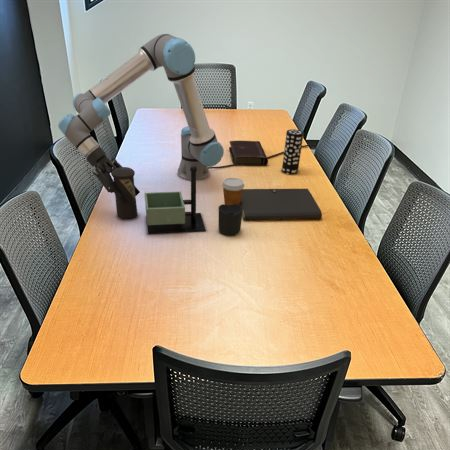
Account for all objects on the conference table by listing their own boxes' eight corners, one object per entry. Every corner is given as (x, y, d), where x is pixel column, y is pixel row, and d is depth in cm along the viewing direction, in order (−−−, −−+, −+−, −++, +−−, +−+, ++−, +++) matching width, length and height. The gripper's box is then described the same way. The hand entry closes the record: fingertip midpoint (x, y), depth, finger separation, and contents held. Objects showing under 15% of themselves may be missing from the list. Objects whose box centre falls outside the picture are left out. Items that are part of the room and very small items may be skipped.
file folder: (307, 187, 210) (322, 212, 191) (306, 195, 213) (320, 221, 194) (237, 188, 206) (244, 213, 188) (236, 196, 209) (244, 222, 190)
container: (133, 222, 185) (129, 175, 173) (112, 219, 187) (107, 172, 174) (141, 212, 192) (137, 166, 180) (120, 209, 193) (116, 164, 181)
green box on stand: (200, 214, 193) (201, 158, 178) (205, 231, 182) (206, 172, 167) (146, 217, 189) (142, 159, 175) (148, 234, 178) (143, 174, 163)
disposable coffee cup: (245, 205, 202) (247, 179, 195) (238, 214, 195) (240, 188, 187) (225, 201, 204) (226, 175, 197) (217, 210, 197) (218, 184, 190)
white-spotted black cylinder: (279, 172, 233) (284, 133, 221) (284, 167, 239) (289, 128, 227) (295, 175, 231) (301, 136, 219) (299, 170, 237) (305, 131, 225)
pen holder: (233, 239, 178) (234, 216, 172) (213, 232, 182) (213, 209, 176) (245, 229, 184) (247, 207, 178) (225, 223, 188) (226, 200, 182)
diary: (260, 149, 259) (260, 140, 256) (267, 166, 240) (268, 156, 237) (227, 149, 257) (227, 140, 254) (232, 166, 238) (233, 156, 235)
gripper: (101, 149, 187) (139, 193, 193) (72, 166, 172) (114, 213, 178) (111, 138, 183) (150, 183, 189) (82, 155, 167) (125, 203, 173)
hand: (132, 198), depth 183 cm, fingers closed on container, 8 cm apart
